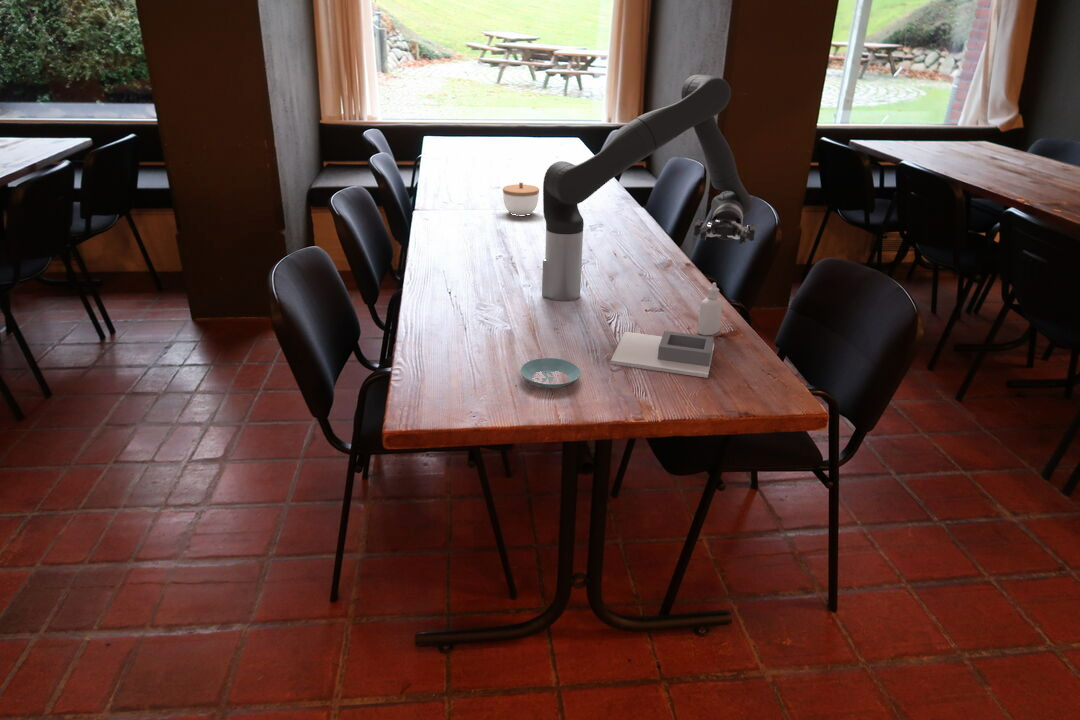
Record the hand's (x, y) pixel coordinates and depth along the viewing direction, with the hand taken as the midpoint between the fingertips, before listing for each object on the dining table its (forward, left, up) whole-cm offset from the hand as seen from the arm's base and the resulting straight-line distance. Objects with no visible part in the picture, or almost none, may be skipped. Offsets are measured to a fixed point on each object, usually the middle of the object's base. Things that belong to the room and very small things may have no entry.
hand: (722, 238), depth 176 cm
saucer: (-28, -47, -19) cm, 58 cm away
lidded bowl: (-73, +74, -19) cm, 105 cm away
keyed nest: (-8, -28, -19) cm, 35 cm away
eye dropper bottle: (0, -12, -19) cm, 23 cm away
